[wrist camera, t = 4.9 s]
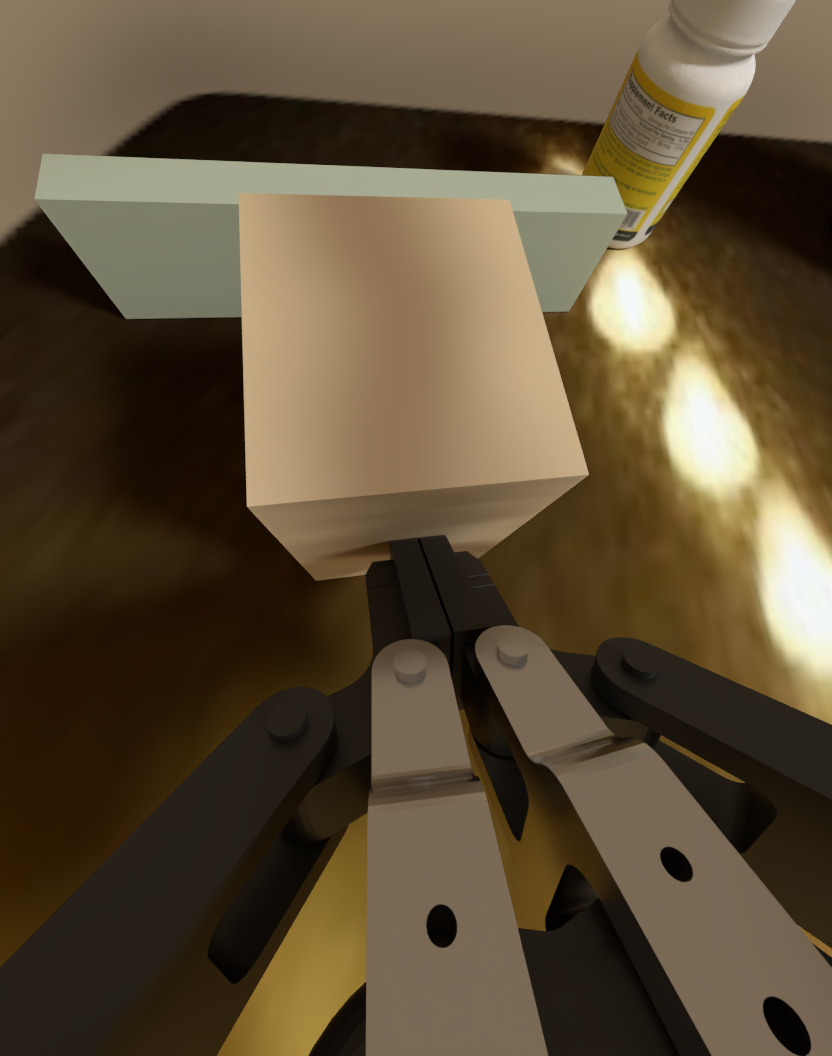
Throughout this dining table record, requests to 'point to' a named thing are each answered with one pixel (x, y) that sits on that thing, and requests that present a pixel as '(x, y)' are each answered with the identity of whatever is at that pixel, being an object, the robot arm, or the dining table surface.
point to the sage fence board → (213, 201)
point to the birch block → (395, 377)
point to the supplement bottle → (678, 102)
